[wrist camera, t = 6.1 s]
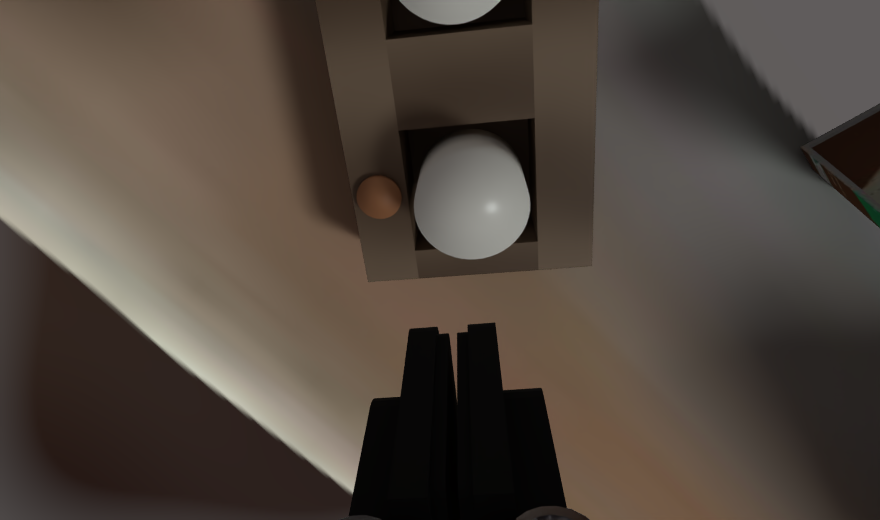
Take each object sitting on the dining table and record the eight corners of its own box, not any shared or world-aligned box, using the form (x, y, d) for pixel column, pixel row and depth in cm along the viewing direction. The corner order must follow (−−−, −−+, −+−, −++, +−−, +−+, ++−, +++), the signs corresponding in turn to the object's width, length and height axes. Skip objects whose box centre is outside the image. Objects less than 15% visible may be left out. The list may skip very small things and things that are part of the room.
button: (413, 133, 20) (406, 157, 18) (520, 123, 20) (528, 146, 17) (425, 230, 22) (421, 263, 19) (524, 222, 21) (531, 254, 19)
